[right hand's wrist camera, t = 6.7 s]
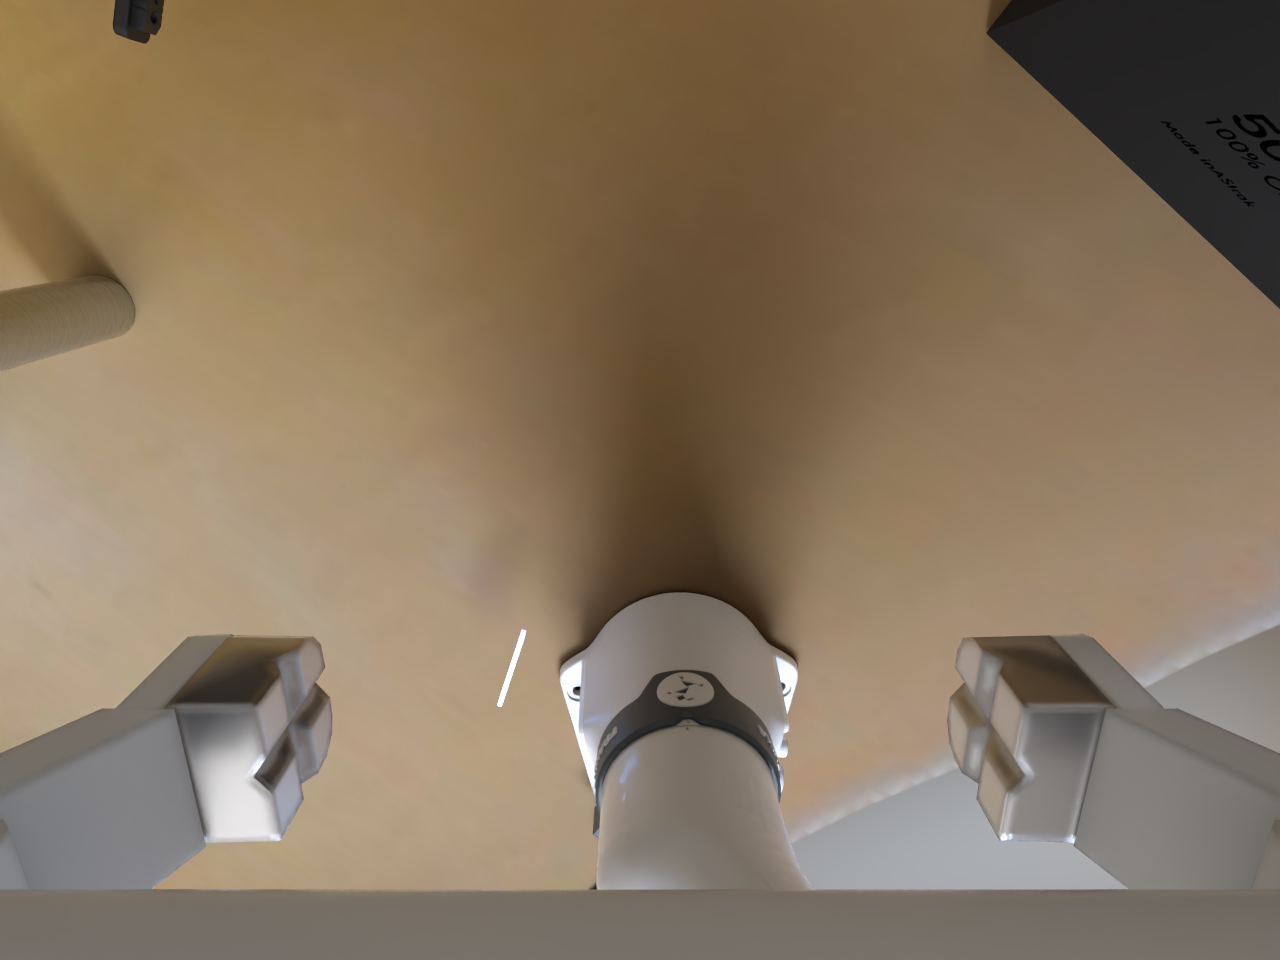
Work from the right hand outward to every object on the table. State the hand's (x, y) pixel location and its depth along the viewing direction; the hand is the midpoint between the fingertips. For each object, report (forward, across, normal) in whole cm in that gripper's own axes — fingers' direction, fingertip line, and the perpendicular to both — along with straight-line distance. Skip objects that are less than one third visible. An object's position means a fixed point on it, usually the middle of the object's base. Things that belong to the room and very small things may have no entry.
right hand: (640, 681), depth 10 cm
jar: (+46, -36, -2) cm, 59 cm away
